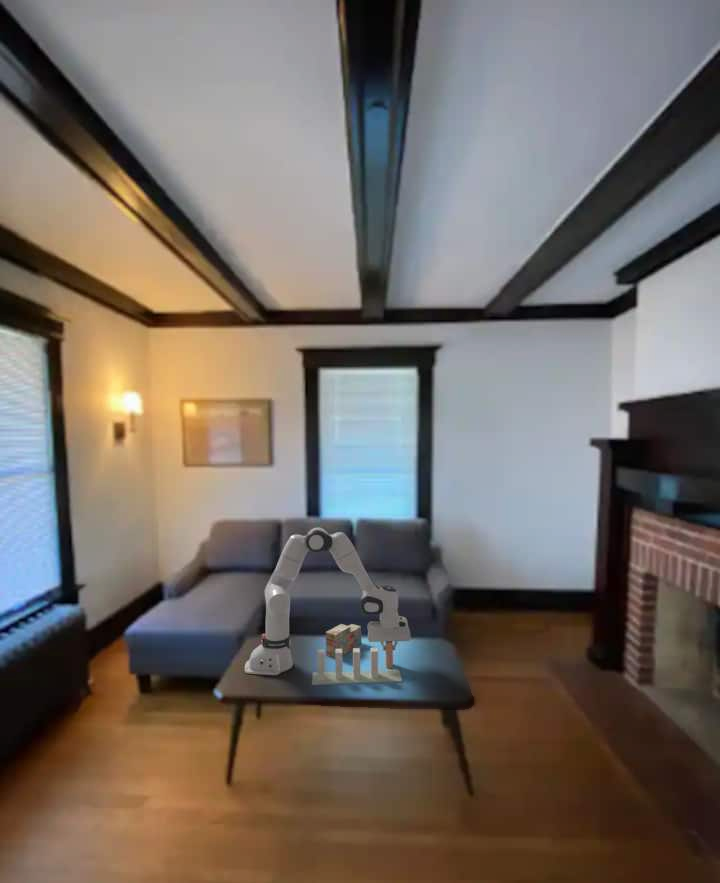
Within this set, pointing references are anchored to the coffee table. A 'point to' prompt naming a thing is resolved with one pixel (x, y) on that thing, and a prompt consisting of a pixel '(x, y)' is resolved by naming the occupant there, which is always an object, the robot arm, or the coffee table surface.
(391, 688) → the coffee table surface
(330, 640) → the stack of blocks
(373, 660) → the domino
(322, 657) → the domino
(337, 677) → the domino
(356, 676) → the domino
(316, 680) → the mat
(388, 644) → the domino
